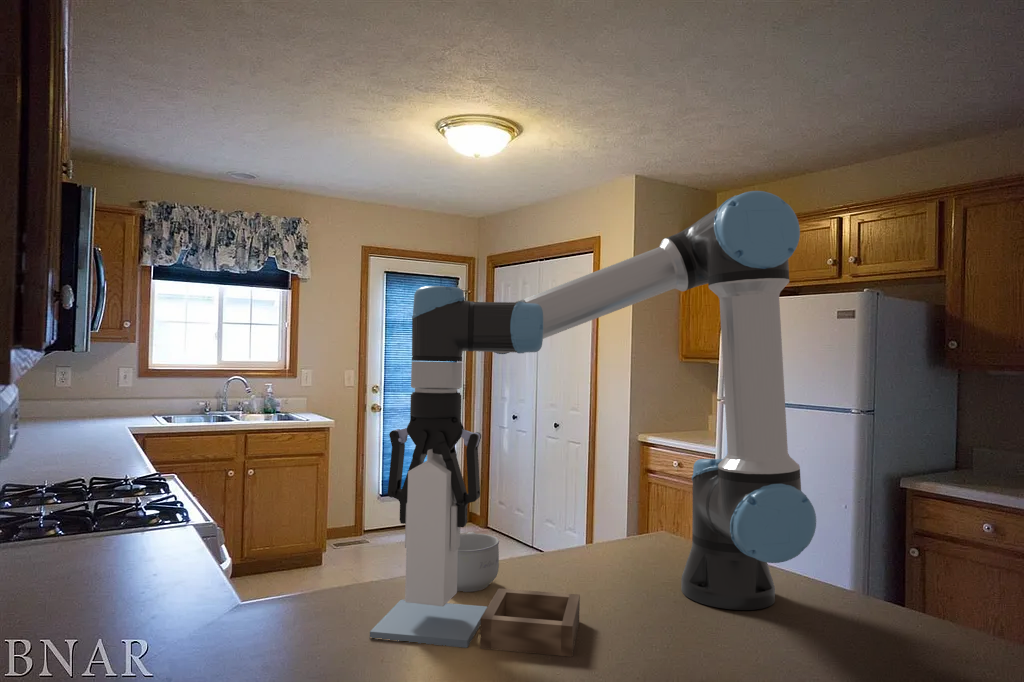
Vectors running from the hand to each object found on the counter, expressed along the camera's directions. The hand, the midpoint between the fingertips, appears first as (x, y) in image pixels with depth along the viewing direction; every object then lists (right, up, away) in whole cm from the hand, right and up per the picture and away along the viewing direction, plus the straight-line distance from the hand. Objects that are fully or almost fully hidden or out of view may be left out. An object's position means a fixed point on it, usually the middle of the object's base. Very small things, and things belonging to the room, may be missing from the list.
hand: (432, 547), depth 100 cm
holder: (+15, -12, -3) cm, 19 cm away
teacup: (+4, -12, +19) cm, 23 cm away
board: (0, -11, 0) cm, 11 cm away
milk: (0, -8, 0) cm, 8 cm away
